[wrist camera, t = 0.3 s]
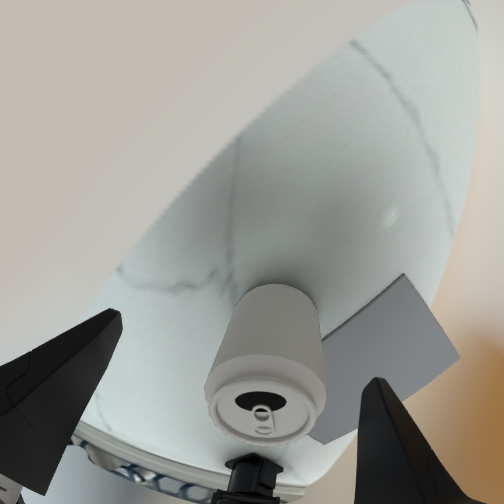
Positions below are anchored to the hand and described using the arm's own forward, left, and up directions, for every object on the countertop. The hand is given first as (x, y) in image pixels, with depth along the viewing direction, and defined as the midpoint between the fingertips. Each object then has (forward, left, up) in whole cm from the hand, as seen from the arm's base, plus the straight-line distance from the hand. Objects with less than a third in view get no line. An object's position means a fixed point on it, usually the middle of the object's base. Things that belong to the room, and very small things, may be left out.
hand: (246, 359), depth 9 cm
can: (-5, -5, -15) cm, 17 cm away
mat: (-4, -17, -15) cm, 23 cm away
